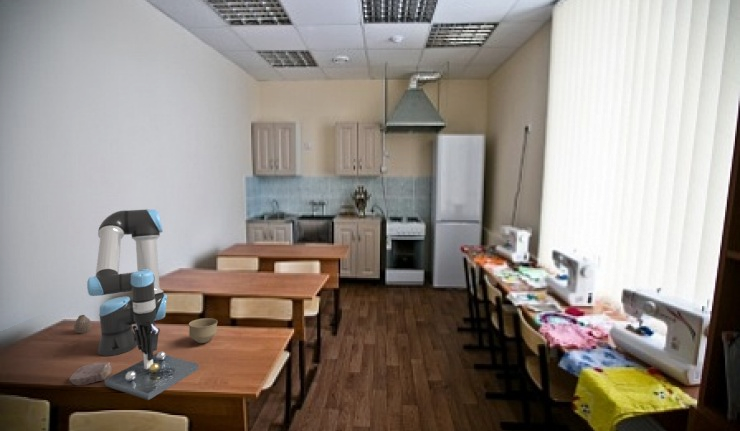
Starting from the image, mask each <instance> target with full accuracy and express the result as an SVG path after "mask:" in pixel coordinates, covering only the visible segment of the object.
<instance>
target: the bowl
mask: <svg viewBox="0 0 740 431" xmlns="http://www.w3.org/2000/svg"><path fill="white" fill-rule="evenodd" d="M188 326H189V328H188V330H189V332H188V334H189V337H190V338H191V339H192V340H194V341H196V342H197V343H198V344H205V343H208V342H209V341H210V340H211V339H213V337H215V336H216V334H217V332H218V331H217V330H218V327H217V326H218V320H217V319H215V318H211V317H210V318H208V317H207V318H198V319H195V320H191V321H190V322H189V323H188Z"/></svg>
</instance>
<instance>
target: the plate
mask: <svg viewBox="0 0 740 431" xmlns="http://www.w3.org/2000/svg"><path fill="white" fill-rule="evenodd" d="M158 353H159V352H157V353H155V354H153V364H154V363H157V364H159V366H160V368H159V370H158V371H157V372H155V373H152V372H150V370H149V368H148V369H144V359H142V360H141V361H139V362H136V363H134V364H133V365H131V366H129V367H127V368H125V369H123V370H121V371H119V372H116V373H114V374H113V375H111V376H108V377H106V378H105V379H104V380H103V381H104V387H108V388H111V389H114V390H117V391H120V392H123V393H125V394H129V395H132V396H135V397H138V398H140V399H141V398H142V399H143V400H147V401H149V400H151V399H153V398H154V397H156V396H158V395H159V394H161V393H163V392H164V391H166V390H167V389H170V387H172V386H173V385H175V384H177V383H179V382H180V381H182V380H184V379H185V378H186V377H187V378H188V376H190V375H192V374H193V373H195V372H196V371H198V370H199V363H197V362H194V361H190V360H186V359H183V358H178V357H174V356H170V355H167V354H166V357H165V359H163V360H158V359H157V358H156V356H157V354H158ZM130 371H134V372H136V378H135V379H134V380H132V381H127V380H126V378H125V376H126V374H127V373H128V372H130Z"/></svg>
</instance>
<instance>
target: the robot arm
mask: <svg viewBox="0 0 740 431" xmlns="http://www.w3.org/2000/svg"><path fill="white" fill-rule="evenodd" d="M161 233H164V231H163V226H162V221H161V217H160V213H159V211H158V210H157V209H150V208H149V209H147V208H146V209H131V210H128V209H127V210H125V209H124V210H119V211H116V212H113V213H111V214H110V215H108V216H107V217H106V218H105V219H103V221H101V224H100V225H99V227H98V231H97V236H98V238H99V245H98V251H97V252H98V254H97V260H96V261H97V263H96V269H95V276H91V277H88V280H87V282H86V284H87V285H86V287H87V294H88V295H89V296H90V297H96V296H97V297H99V296H106V295H107V296H108V295H111V294H119V293H127V292H131V296H132V298H130V296H127V295H126V296H125V295H124V296H123V295H122V296H118V297H114V298H112V299H109V300H106V301H104V302H103V303H101V305H100V306H99V313H98V316H99V321H100V331H101V332H100V333H101V336H100V339H99V342H98V347H97V354H99V356H103V357H104V356H105V357H108V356H116V355H120V354H124V353H127V352H130V351H131V350H133V349H135V348H136V347H137V348H138V350H139V351H140V350H141V353H142V358H143V359H142V360H144V369H148V368H150V366H151V365H152V364H153V355H154V352H155V351H157V349H158V341H159V334H160V331H161V329H160V328H159V327H158V328H157V327H156V323H155V321H158V320H162V319H164V318H165V317H166V311H167V310H166V309H167V299H168V295H167V294H165V293H164V290H162V289H161V288H160V276H159V274H160V273H159V259H158V244H157V242H158V241H157V240H158V239H159V237H161V235H160V234H161ZM125 235H126V236H127V235H130V236H131V240H134V241H135V250H136V265H137V271H133V272H125V273H120V257H121V243H122V242H121V241H122V239H123V238H124V236H125Z"/></svg>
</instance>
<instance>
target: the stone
mask: <svg viewBox="0 0 740 431" xmlns="http://www.w3.org/2000/svg"><path fill="white" fill-rule="evenodd" d="M111 373H112V366H111V363H110V362H94V363H93V362H92V363H90V364H86V365H83V366H80V367H79V368H78V369H77V370H76V371H75V372H74V373H73V374H72V375H71V376H70V378H69V382H70V383H71V384H73V385H75V386H86V385H88V384H94V383H96V382H100V381H101V382H102V381H104V380H105V379H107V378H108V377H109V376H110V374H111Z"/></svg>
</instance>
